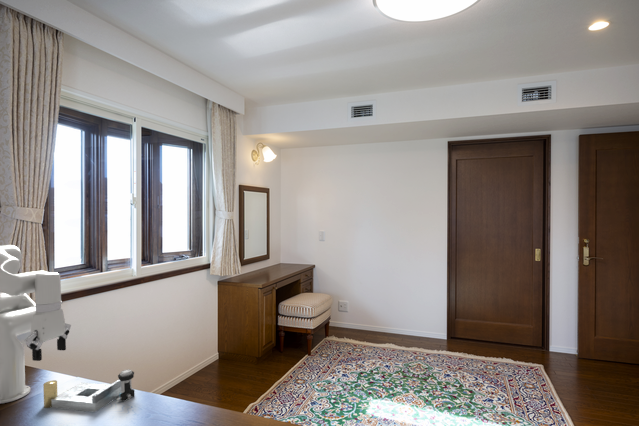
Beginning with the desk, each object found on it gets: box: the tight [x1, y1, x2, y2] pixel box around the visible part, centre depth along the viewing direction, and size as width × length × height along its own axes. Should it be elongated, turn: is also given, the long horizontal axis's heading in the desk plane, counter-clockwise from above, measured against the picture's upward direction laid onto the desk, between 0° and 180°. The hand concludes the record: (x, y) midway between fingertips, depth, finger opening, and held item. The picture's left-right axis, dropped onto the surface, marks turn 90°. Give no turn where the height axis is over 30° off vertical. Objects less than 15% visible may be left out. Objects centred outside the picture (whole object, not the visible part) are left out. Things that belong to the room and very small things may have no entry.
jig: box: [51, 379, 121, 413], centre depth 138 cm, size 18×13×6 cm
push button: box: [116, 368, 136, 403], centre depth 138 cm, size 7×5×10 cm
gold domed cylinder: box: [42, 380, 58, 409], centre depth 135 cm, size 4×4×8 cm
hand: (49, 355), depth 135 cm, fingers open, 9 cm apart
